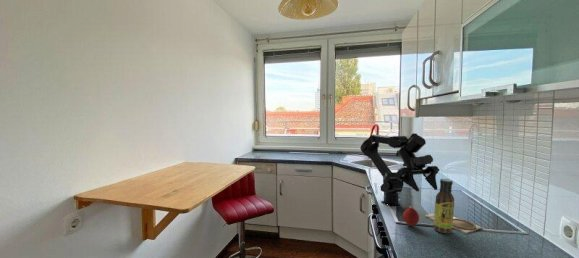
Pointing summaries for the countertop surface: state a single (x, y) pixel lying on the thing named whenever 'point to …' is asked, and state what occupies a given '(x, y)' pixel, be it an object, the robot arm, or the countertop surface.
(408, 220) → the onion
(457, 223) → the beige flat board
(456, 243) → the countertop surface
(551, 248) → the countertop surface
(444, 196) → the sauce bottle
